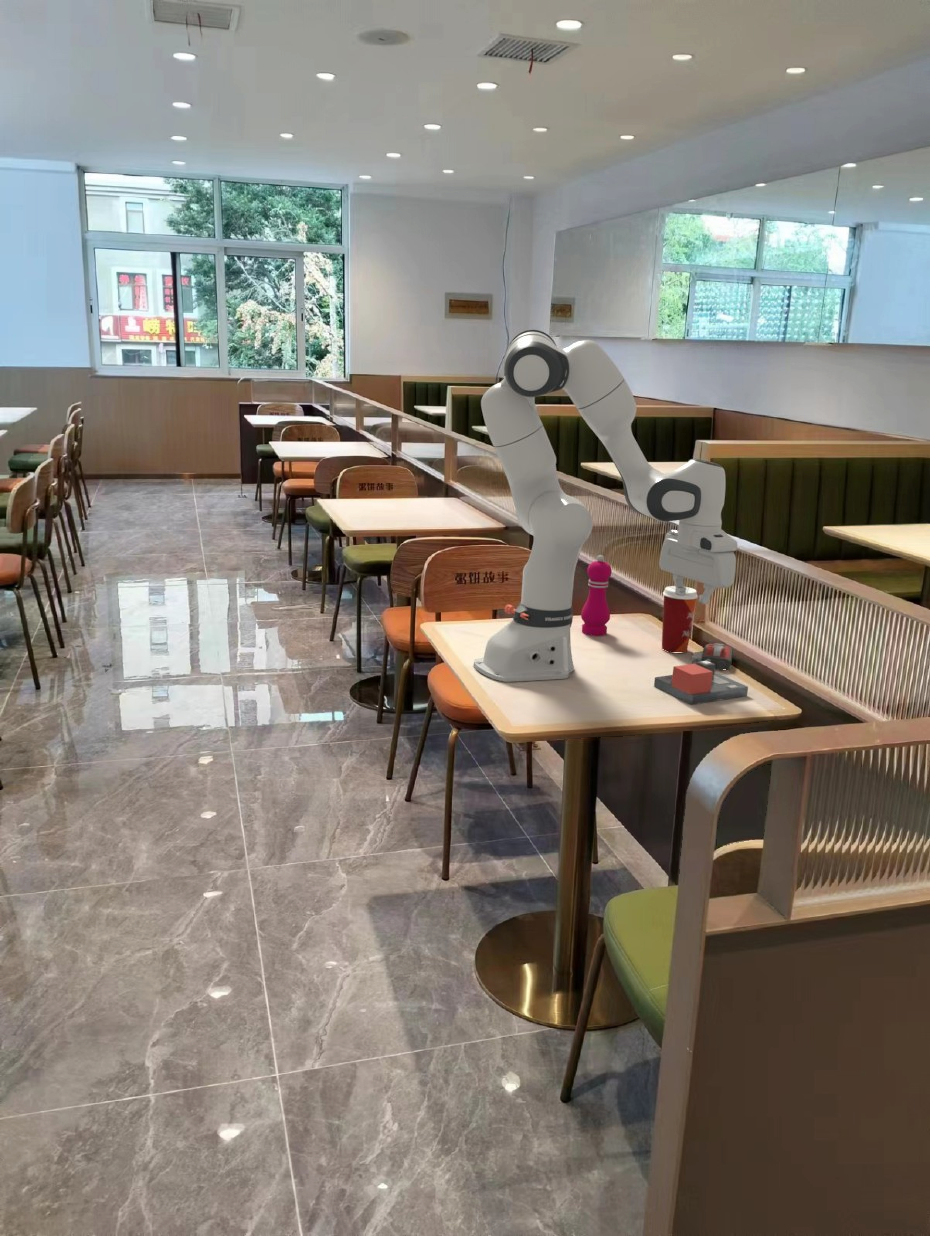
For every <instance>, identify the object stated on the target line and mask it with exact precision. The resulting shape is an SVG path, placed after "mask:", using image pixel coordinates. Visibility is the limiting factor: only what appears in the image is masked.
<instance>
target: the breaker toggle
mask: <svg viewBox="0 0 930 1236" xmlns="http://www.w3.org/2000/svg"><path fill="white" fill-rule="evenodd" d="M696 665H699V666H701V667H703V668H706V669H708V670H710V671H713V675H714V673H716V669H715V664H714V663H711V662H709V661H699V662H697V663H696Z"/></svg>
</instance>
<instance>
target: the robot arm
mask: <svg viewBox="0 0 930 1236" xmlns="http://www.w3.org/2000/svg"><path fill="white" fill-rule="evenodd" d="M503 366H504V369H503V371H504V372H503V375H504V376H503V379H502V380H501V381H500V382H498V383H495V384H494V385H492V386H491V387H490V388H489V387H488V389H487V390H486V391H485V392H484V393H483V395H482V397H481V400H480V407H481V412H482V416H483V420H484V424H485V427H486V431H487V433H488V436H489V439H490V441H491V444H492V446H493V448H494V451H495V453H496V455H497V458H498V460H499V462H500V464H501V468H502V469H503V471H504V474H505V476H506V479H507V482H508V486H509V488H510V493H511V498H512V501H513V504H514V508H515V516H516V518H517V521H518V523H519V524H520V526H521V528H522V529H523V530H524V531H525V532H526V533H527V534H529V535H531V536H533V543H532V547H531V551H530V554H529V558H528V560H527V563H525V565H524V566H523V570H522V582H521V583H522V585H521V596H520V597H521V599H520V600H521V601H520V602H519V603H518V605H517V607H516V606H513V605H512V604H506V605H505V606H504V612H505V614H509V615H511V616H512V620H511V621H509V623H507V624H506V625H504V627H502V628H501V629H500V630H499V631H497V632H496V633H495V634H494V635H492V636H491V637H490V638H489V639H488V640H487V642H486V645H485V651H484V653H483V657H479V658H475V659H474V660H473V667H474V668H475V669H476V671H477V672H479V673H480V674H482V675H484V676H486V677H488V678H491V679H493V680H496V681H500V682H506V683H508V682H509V683H510V682H527V681H542V680H544V681H546V680H547V681H548V680H560V679H561V680H562V679H568V678H569V677H570V674H571V672H573V671H574V669H575V665H574V660H573V655H572V644H571V627H572V623H573V618H574V606H573V605H572V603H573V593H574V592H573V591H574V580H575V579H574V578H575V573H576V567H577V563H578V560H579V558H580V554H581V550H582V547H583V545H584V543H585V542H587V540H588V539H589V538H590V535H591V533H592V531H593V524H594V523H593V518H592V515H591V512H590V511H589V510H588V508H587V507H586V506H585V505H584V503H583V502H581V501H580V500H579V499H578V498H576V497H573V496H570V495H568V494H566V493H565V492H564V491H563V489H562V487H561V484H560V482H559V477H558V472H557V465H556V464H557V456H556V454H555V452H554V451H555V450H554V449H553V446H552V444H551V442H550V439H549V437H548V434H547V431H546V429H545V427H544V424H543V422H542V420H541V417H540V415H539V412H538V411H537V407H536V403H535V401H536V399H535V398H536V397H540V396H541V397H542V396H544V395H547V394H550V393H553V392H554V393H555V392H558V391H561V390H564V391H565V393H566V394H567V395H568V397H569V398H570V400H571V402H572V403H573V405H574V407H575V408H576V409H577V411H578V414H580V416H581V417H582V418H583V420H584V421H585V423H586V424H587V426H588V427H589V428H590V430H592V431H593V433H594V434H595V436H596V437H598V439H599V441H600V442H601V443H602V444H603V446H604V447H605V448H604V449H606V452H607V453H608V455H609V457H610V459H611V461H612V462H613V464H614V466H615V468H616V470H617V472H618V473H619V476H620V478H621V480H622V484H623V486H622V487H623V493H624V499H625V501H626V504H627V505H628V507H629V508H630V509H631V510H632V511H633V512H635V513H636V514H639V515H642V516H647V517H649V518H651V519H654V520H656V521H659V522H663V523H665V522H666V523H667V522H673V521H678V528H677V529H678V530H676V529H670V530H668V531H667V533H665V538H664V540H663V543H662V546H661V550H660V551H661V552H660V556H659V562H658V565H659V568H660V570H661V571H664V572H667V573H670V574H672V580H673V583H674V586H675V587H676V590H675V594H676V595H679V596H684V595H685V594H686V592H685V591H686V587H687V586H685V585H684V579H689V580H692V581H694V582H699V583H702V584H703V589H704V591H703V593H702V594H699V595H698V603H700V604H702V605H709V604H710V601H711V596H712V594H713V593H714V592H715V590H716V589H726V588H731V586H732V585H733V584H734V581H735V578H736V576H735V574H736V565H737V558H736V555H735V553H734V552H735V551H736V550H737V549H738V542H737V540H736V539H734V538H733V537H731V536H730V535H729V534H728V533H726V532H725V530H723V529H722V524H723V521H722V510H723V508H724V506H725V497H726V471H725V469H724V468H723V466H722V465H720V464H718V463H716V462H711V461H709V460H708V461H707V460H704V459H701V458H700V459H699V458H691V459H688V461H687V462H686V463H685V464H683V465H681V466H680V467H678V468H675V469H673V470H671V471H667V472H665V473H664V472H661V471H659V470H658V469H656V468H655V467H653V466H652V465H651V464H650V463H649V462H648V461H647V458H646V457H645V455H644V453H643V451H642V450H641V448H640V446H639V444H638V442H637V441H636V439H635V437H634V435H633V430H632V423H633V421H634V420H635V418H636V416H637V415H636V414H637V409H638V407H637V404H636V400H635V397H634V395H633V392H632V390H631V388H630V386H629V384H628V382H627V381H626V378H625V377H624V376H623V374H622V372H621V371H620V369H619V368H618V366H617V365H616V364H615V362H614V361H613V359H612V358H611V357H610V356H609V355H608V353H607V352H606V351H605V350H604V349H603V347H601V345H599V343H597V342H596V341H595V340H591V339H583V340H578V341H576V342H574V343H572V344H570V345H569V346H568V347H558V345H557V344H556V342H555V341H554V339H553V338H552V337H551V336H550V335H549V334H547V333H545V332H544V331H542V330H538V329H528V330H524V331H522V332H519V333H518V334H516V336H515V337H513V339H512V340H511V342H510V343H509V345H508V347H507V349H506V352H505V354H504V365H503Z"/></svg>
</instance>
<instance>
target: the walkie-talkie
mask: <svg viewBox="0 0 930 1236" xmlns="http://www.w3.org/2000/svg"><path fill="white" fill-rule="evenodd" d="M733 653H734V649H733V647H732V646H729V645H725V644H723V643H712V642H711V643H708V644H706V645H705V646H704V647H703V649H702V651H695V652H693V655H692V656H691V661H690V664H696V663H697V662H699V661H709V662H711V663H714V664H715V670H719V671H724V670H723V669H726V670H729V671H730V669H731V667H732V661H733ZM726 670H725V671H726Z"/></svg>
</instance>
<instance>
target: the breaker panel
mask: <svg viewBox="0 0 930 1236" xmlns="http://www.w3.org/2000/svg"><path fill="white" fill-rule="evenodd" d="M672 676H673V674H669V675H663V676H656V677H654V683H653V687H655V688H657V689H658V690H660V691H663V692H665V693H667V694H669V695H671V696H673V697H675V698H677V699H679V700H681V701H683V700H684V702H686V703H688V704H690V705H699V704H703V703H710V702H711V703H712V702H717V701H722V700H724V701H725V700H728V699H735V698H736V699H737V698H743V697H748V690H749V686H747V685H745V684H744V683H741V682H738V681H736V680H733V679H731V678H729V677H727V676H724V675H722V674H720V673H717V672H715V673H714V675H713V676H712V684H711V691H709V692H702V693H696V694H688V693H686V692H683V691H681V690H679V689H677V688H675V687H673V686H671V685H672ZM698 703H699V704H698Z"/></svg>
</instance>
